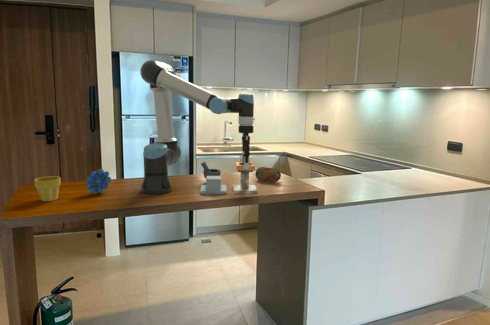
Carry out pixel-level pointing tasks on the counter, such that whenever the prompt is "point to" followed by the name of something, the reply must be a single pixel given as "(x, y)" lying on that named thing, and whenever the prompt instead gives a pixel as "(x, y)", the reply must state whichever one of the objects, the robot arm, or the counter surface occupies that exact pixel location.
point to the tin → (268, 174)
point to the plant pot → (48, 187)
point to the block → (213, 186)
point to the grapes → (98, 181)
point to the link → (241, 167)
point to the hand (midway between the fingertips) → (245, 166)
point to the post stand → (244, 183)
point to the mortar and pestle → (210, 171)
